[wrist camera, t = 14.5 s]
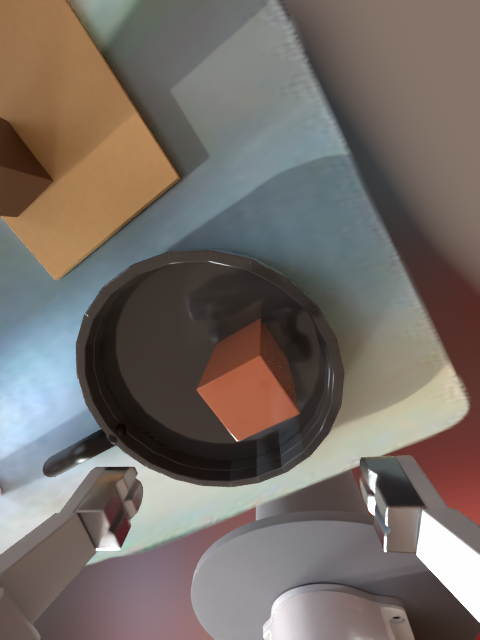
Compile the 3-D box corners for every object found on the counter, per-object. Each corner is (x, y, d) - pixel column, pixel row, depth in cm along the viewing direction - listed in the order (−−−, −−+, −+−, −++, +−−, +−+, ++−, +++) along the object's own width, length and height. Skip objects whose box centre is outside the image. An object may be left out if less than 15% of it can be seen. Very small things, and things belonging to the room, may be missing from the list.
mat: (181, 179, 15) (178, 176, 15) (60, 279, 18) (54, 280, 18) (32, -55, 12) (23, -67, 12) (-84, 108, 15) (-95, 104, 15)
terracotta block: (288, 359, 18) (300, 414, 12) (244, 382, 19) (237, 442, 13) (260, 317, 17) (260, 355, 12) (216, 343, 18) (195, 389, 13)
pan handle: (135, 428, 21) (124, 445, 19) (63, 466, 23) (47, 484, 22) (122, 413, 21) (109, 429, 19) (50, 454, 23) (33, 471, 21)
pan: (374, 409, 19) (390, 432, 17) (189, 486, 24) (181, 513, 22) (246, 188, 15) (244, 178, 13) (51, 334, 20) (22, 347, 17)
